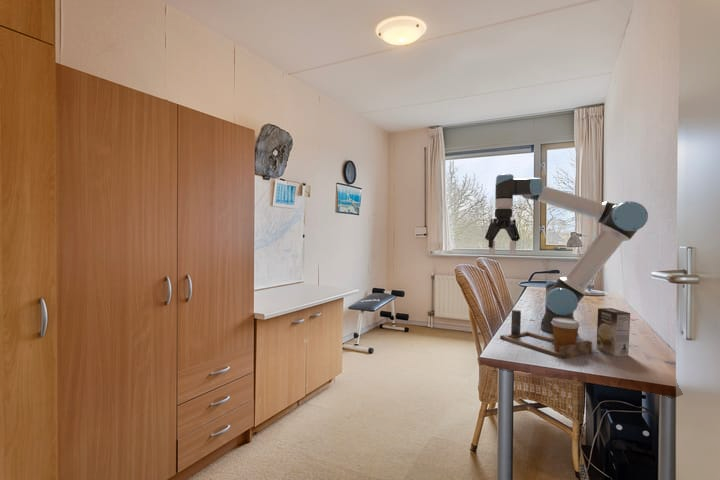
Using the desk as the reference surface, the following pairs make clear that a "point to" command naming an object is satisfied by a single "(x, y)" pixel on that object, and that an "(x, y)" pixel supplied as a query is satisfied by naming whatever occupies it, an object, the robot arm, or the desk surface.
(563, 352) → the frame
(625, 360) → the desk surface
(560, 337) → the disposable coffee cup
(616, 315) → the coffee box
